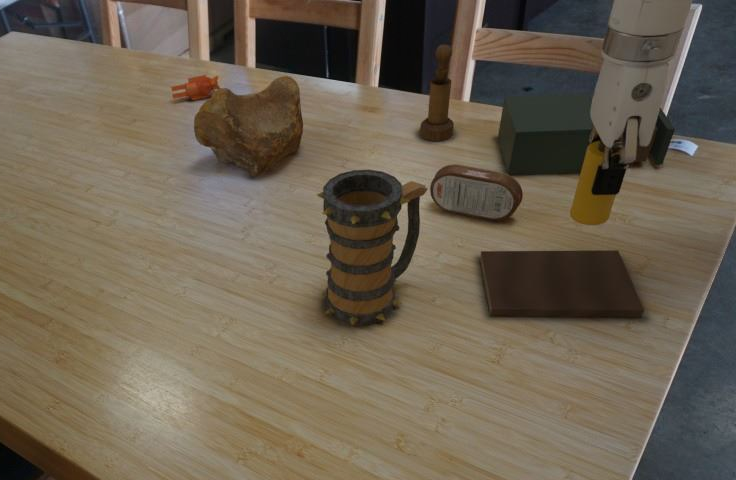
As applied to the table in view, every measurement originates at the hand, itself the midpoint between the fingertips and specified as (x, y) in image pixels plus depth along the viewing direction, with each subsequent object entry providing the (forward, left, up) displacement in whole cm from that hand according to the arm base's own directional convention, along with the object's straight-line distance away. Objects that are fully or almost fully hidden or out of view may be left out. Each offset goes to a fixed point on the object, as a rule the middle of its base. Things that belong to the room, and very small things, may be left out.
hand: (599, 181), depth 89 cm
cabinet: (-3, -40, -18) cm, 44 cm away
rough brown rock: (+52, -41, -18) cm, 69 cm away
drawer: (-15, -40, -17) cm, 46 cm away
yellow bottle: (0, 0, -5) cm, 5 cm away
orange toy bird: (+72, -75, -18) cm, 105 cm away
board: (+2, 0, -18) cm, 18 cm away
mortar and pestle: (+16, -50, -18) cm, 55 cm away
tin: (+12, -20, -18) cm, 29 cm away
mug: (+29, +3, -18) cm, 34 cm away
